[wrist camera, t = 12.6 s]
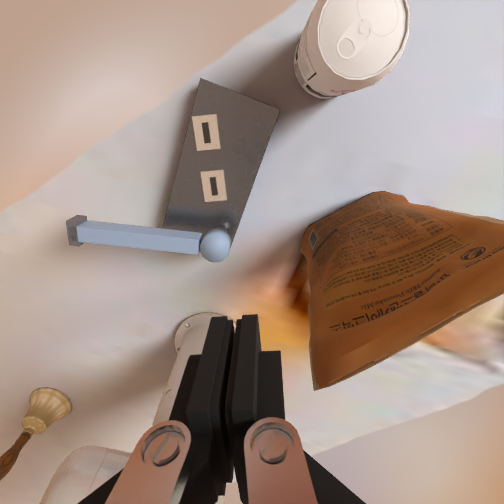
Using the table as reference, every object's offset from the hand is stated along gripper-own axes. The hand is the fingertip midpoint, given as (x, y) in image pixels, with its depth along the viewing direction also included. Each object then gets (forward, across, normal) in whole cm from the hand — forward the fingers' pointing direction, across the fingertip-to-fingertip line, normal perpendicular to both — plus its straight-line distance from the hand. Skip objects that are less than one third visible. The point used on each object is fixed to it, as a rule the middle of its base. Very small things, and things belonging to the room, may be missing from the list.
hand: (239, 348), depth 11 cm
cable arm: (+29, +14, +5) cm, 32 cm away
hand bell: (+35, +46, +42) cm, 71 cm away
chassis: (+35, +5, -1) cm, 36 cm away
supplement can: (+35, -10, -13) cm, 39 cm away
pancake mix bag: (+35, -12, +7) cm, 38 cm away
